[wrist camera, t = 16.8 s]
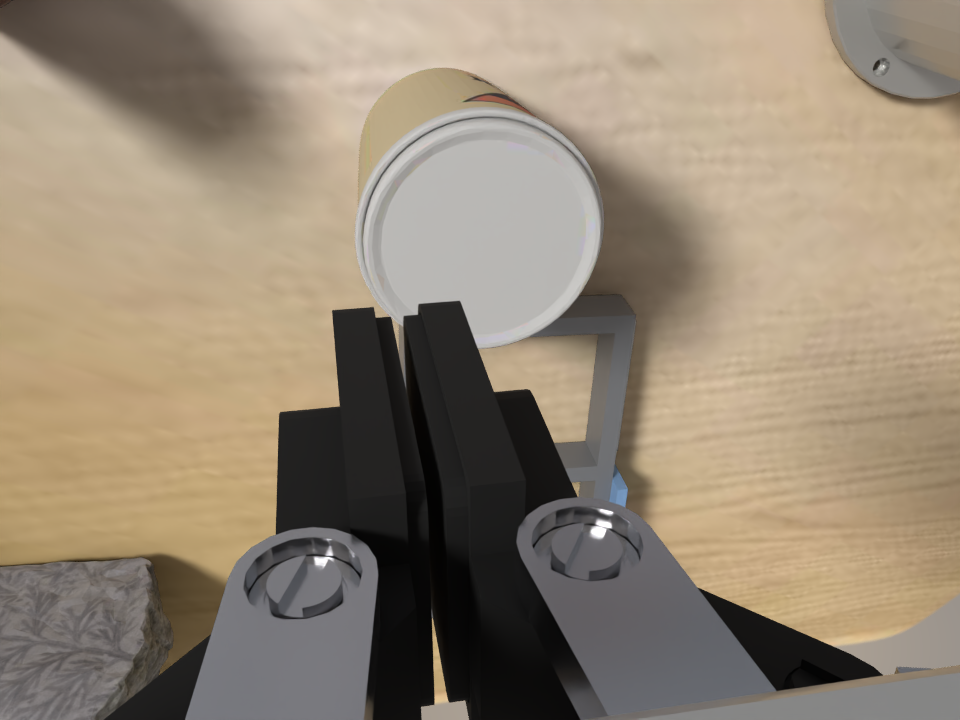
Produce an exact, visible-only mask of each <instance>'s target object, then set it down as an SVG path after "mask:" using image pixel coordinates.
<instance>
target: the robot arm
mask: <svg viewBox="0 0 960 720" xmlns="http://www.w3.org/2000/svg"><path fill="white" fill-rule="evenodd" d="M824 1H825V13H826V19H827V23H828V26H829V30H830V33H831V37H832V40H833V42H834V44H835V46H836V48H837V49H838V51H839V53H840V55H841V57H842V59H843V60H844V61H845V62H846V63H847V65H848V66H849V67H850V68H851V69H852V70H853V71H854V73H855V74H856V75H858V76H859V77H861V78H862V79H863V80H865V81H866V82H868V83H869V84H871V85H872V86H874V87H877V88H879V89H882V90H884V91H886V92H888V93H891V94H894V95H898V96H903V97H907V98H911V99H934V98H939V97H944V96H949V95H953V94H957V93H959V92H960V0H824ZM332 314H333V326H334V339H335V351H336V363H337V376H338V388H339V400H340V407H330V408H320V409H309V410H298V411H287V412H280V414H279V438H278V475H277V511H276V535H274V536H271V537H269V538H267V539H265V540H263V541H262V542H260V543H258V544H257V545H255V546H253V547H251V548H250V549H249V550H248V551H247V552H246V553H245V554H244V555H243V556H242V557H241V558H240V559H239V560H238V561H237V562H236V564H235V566H234V568H233V570H232V572H231V574H230V576H229V578H228V581H227V584H226V587H225V591H224V594H223V597H222V600H221V604H220V607H219V610H218V614H217V617H216V620H215V623H214V627H213V630H212V633H211V635H209V636H208V637H207V638H206V639H204V640H203V641H202V642H201V643H199V644H198V645H197V646H196V647H194V648H193V649H192V650H191V651H189V652H188V653H187V654H186V655H184V656H183V657H182V658H181V659H179V660H178V661H177V662H175V663H174V664H173V665H172V666H170V667H169V668H168V669H167V670H165V671H164V672H163V673H162V674H160V675H159V676H158V677H157V678H155V679H154V680H153V681H152V682H150V683H149V684H148V685H146V686H145V687H144V688H143V689H141V690H140V691H139V692H138V693H136V694H135V695H134V696H133V697H131V698H130V699H129V700H128V701H126V702H125V703H124V704H123V705H121V706H120V707H119V708H118V709H116V710H115V711H114V712H112V713H111V714H110V715H109V716H107V717H106V718H105V719H104V720H421V707H422V706H429V705H434V671H433V641H432V615H433V620H434V626H435V631H436V637H437V642H438V648H439V653H440V659H441V665H442V670H443V676H444V681H445V687H446V692H447V697H448V701H449V702H457V701H463V700H465V701H466V706H467V711H468V716H469V720H960V665H958V666H951V667H944V668H937V669H929V668H909V667H897V668H896V671H895V674H892V675H884V676H883V675H882V674H881V673H880V672H879V671H878V670H876V669H875V668H874V667H873V666H871V665H869V664H867V663H866V662H864V661H862V660H860V659H858V658H856V657H855V656H853V655H851V654H849V653H847V652H844V651H842V650H840V649H838V648H835V647H833V646H831V645H828V644H826V643H824V642H821V641H819V640H817V639H815V638H812V637H810V636H808V635H805V634H803V633H801V632H798V631H796V630H794V629H792V628H789V627H787V626H785V625H782V624H780V623H778V622H775V621H773V620H771V619H769V618H766V617H764V616H762V615H759V614H757V613H755V612H752V611H750V610H748V609H746V608H743V607H741V606H739V605H736V604H734V603H732V602H730V601H727V600H725V599H723V598H720V597H718V596H716V595H713V594H711V593H709V592H707V591H704V590H702V589H700V588H697V587H696V585H695V584H694V583H693V581H692V580H691V579H690V578H689V576H688V575H687V574H686V572H685V571H684V570H683V568H682V567H681V566H680V565H679V563H678V562H677V561H676V559H675V558H674V557H673V555H672V554H671V553H670V551H669V550H668V549H667V548H666V546H665V545H664V544H663V542H662V541H661V540H660V538H659V537H658V536H657V535H656V533H655V532H654V531H653V529H652V528H651V527H650V526H649V525H648V524H647V523H646V522H645V521H644V520H643V519H642V518H641V517H640V516H639V515H638V514H636V513H634V512H632V511H630V510H629V509H627V508H625V507H623V506H621V505H619V504H615V503H612V502H609V501H605V500H602V499H594V498H583V497H577V495H576V492H575V490H574V488H573V486H572V483H571V481H570V479H569V476H568V474H567V472H566V470H565V467H564V465H563V463H562V460H561V458H560V456H559V453H558V451H557V449H556V447H555V444H554V442H553V440H552V437H551V435H550V433H549V431H548V428H547V426H546V424H545V421H544V419H543V417H542V415H541V412H540V410H539V408H538V405H537V403H536V401H535V398H534V396H533V395H532V393H531V391H530V390H528V389H524V390H513V391H502V392H494V391H493V389H492V386H491V383H490V380H489V378H488V375H487V372H486V370H485V367H484V364H483V361H482V359H481V356H480V353H479V350H478V348H477V345H476V342H475V340H474V337H473V334H472V331H471V329H470V326H469V323H468V320H467V318H466V315H465V312H464V310H463V307H462V304H461V302H460V301H449V302H436V303H423V304H419V305H418V315H407V316H404V317H403V331H404V353H405V375H406V387H405V382H404V377H403V373H402V368H401V363H400V358H399V353H398V348H397V343H396V339H395V334H394V329H393V324H392V319H391V317H382V318H376V317H375V312H374V307H370V308H357V309H344V310H332ZM431 609H432V612H431Z"/></svg>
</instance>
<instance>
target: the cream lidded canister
mask: <svg viewBox="0 0 960 720" xmlns="http://www.w3.org/2000/svg"><path fill="white" fill-rule="evenodd" d="M603 231H604V210H603V202H602V198H601V193H600V189H599V186H598V184H597V181H596V178H595V176H594V174H593V172H592V170H591V168H590V166H589V164H588V162H587V161H586V159H585V158H584V156H583V155H582V153H581V152H580V151H579V150H578V149H577V147H576V146H575V145H574V144H573V143H572V142H571V141H570V140H569V139H568V138H567V137H566V136H564V135H563V134H562V133H561V132H559V131H558V130H557V129H555V128H554V127H552V126H551V125H549V124H547V123H546V122H544V121H542V120H540V119H538V118H536V117H535V116H534V115H533V114H531V113H530V112H529V111H527V110H526V109H525V108H524V107H522V106H521V105H519V104H518V103H517V102H515V101H514V100H513V99H511V98H510V97H509V96H507V95H506V94H505V93H503V92H502V91H501V90H499V89H498V88H496V87H495V86H494V85H492V84H491V83H489V82H487V81H486V80H484V79H482V78H480V77H478V76H476V75H474V74H472V73H469V72H466V71H462V70H458V69H452V68H433V69H427V70H422V71H419V72H416V73H413V74H411V75H408V76H406V77H404V78H402V79H401V80H399V81H398V82H396V83H395V84H393V85H392V86H391V87H390V88H389V89H387V90H386V91H385V92H384V93H383V94H382V95H381V96H380V98H379V99H378V100H377V101H376V103H375V104H374V106H373V107H372V109H371V110H370V112H369V114H368V116H367V118H366V121H365V124H364V127H363V130H362V134H361V141H360V149H359V171H358V210H357V215H356V223H355V248H356V254H357V260H358V263H359V267H360V270H361V273H362V275H363V278H364V280H365V283H366V285H367V286H368V288H369V290H370V292H371V294H372V295H373V297H374V298H375V300H376V301H377V302H378V304H379V305H380V306H381V307H382V309H383V310H384V311H385V312H386V313H387V314H388V315H389V316H390V317H391V318H392V319H394V320H395V321H396V322H397V323H398V324H400V325H401V326H402V327H403V317H404V316H407V315H418V305H419V304H423V303H436V302H449V301H460V302H461V304H462V307H463V310H464V312H465V315H466V318H467V320H468V323H469V326H470V329H471V331H472V334H473V337H474V340H475V342H476V345H477V348H478V349H484V348H494V347H499V346H504V345H507V344H511V343H514V342H517V341H520V340H522V339H525V338H527V337H529V336H531V335H533V334H535V333H537V332H539V331H541V330H542V329H544V328H545V327H547V326H548V325H550V324H551V323H552V322H554V321H555V320H556V319H557V318H559V317H560V316H561V315H562V314H563V313H564V312H565V311H566V310H567V309H568V308H569V307H570V306H571V305H572V304H573V302H574V301H575V300H576V299H577V298H578V296H579V295H580V293H581V292H582V290H583V289H584V287H585V285H586V284H587V282H588V280H589V279H590V276H591V274H592V271H593V269H594V267H595V264H596V262H597V259H598V256H599V253H600V249H601V244H602V240H603Z"/></svg>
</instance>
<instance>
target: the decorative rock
mask: <svg viewBox="0 0 960 720" xmlns="http://www.w3.org/2000/svg"><path fill="white" fill-rule="evenodd" d="M172 646H173V631H172V628H171V624H170V621H169V620H168V618H167V617H166V616H165V614H164V613H163V609H162V604H161V600H160V594H159V590H158V584H157V580H156V576H155V573H154V565H153V564H152V563H151V562H150V561H149V560H147V559H145V558H143V557H140V558H133V559H119V560H111V561H91V562H54V563H47V564H43V565H21V566H7V567H0V720H104V719H105V718H106V717H107V716H109V715H110V714H111V713H112V712H114V711H115V710H116V709H118V708H119V707H120V706H121V705H123V704H124V703H125V702H126V701H128V700H129V699H130V698H131V697H133V696H134V695H135V694H136V693H138V692H139V691H140V690H141V689H143V688H144V687H145V686H146V685H148V684H149V683H150V682H152V681H153V680H154V679H155V678H157V677H158V675H159V673H160V668H161V666H162V665H163V663H164V662H165V661H166V659H167V658H168V650H170V649H171V648H172Z"/></svg>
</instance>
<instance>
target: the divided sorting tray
mask: <svg viewBox="0 0 960 720" xmlns="http://www.w3.org/2000/svg"><path fill="white" fill-rule="evenodd" d="M635 318H636V314H635V313H634V312H633V310H632V309H631V308H630V306H629V305H628V303H627V302H626V301H625V299H624V298H623V297H622V295H595V296H578V298H577V299H576V300H575V301H574V302H573V304H572V305H571V306H570V307H569V308H568V309H567V310H566V311H565V312H564V313H563V314H562V315H561V316H560V317H559V318H557V319H556V320H555V321H554V322H552V323H551V324H550V325H548V326H547V327H545V328H544V329H542V330H541V331H539V332H537V333H535V334H533V335H531V336H529V337H539V336H562V335H584V334H598V342H597V350H596V359H595V367H594V375H593V383H592V391H591V400H590V408H589V416H588V424H587V433H586V441H583V442H568V443H554V444H555V447H556V449H557V451H558V453H559V456H560V458H561V460H562V463H563V465H564V467H565V470H566V472H567V474H568V476H569V479H570V481H571V482H580V490H579V497H583V498H594V499H602V500H605V501H609V502H612V503H615V504H619V505H621V506H623V507H625V505H626V499H627V492H628V488H627V486H626V484H625V482H624V480H623V479H622V477H621V475H620V473H619V471H618V469H617V467H616V465H615V458H616V451H618V445H619V438H620V431H621V424H622V417H623V410H624V403H625V396H626V389H627V383H628V376H629V369H630V362H631V355H632V348H633V341H634V334H635V327H636V319H635ZM399 358H400V363H401V368H402V373H403V377H404V382H405V387H406V375H405V353H404V331H403V327H402V326H401V325H400V324H399ZM431 612H432V609H431ZM432 618H433V615H432Z"/></svg>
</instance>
